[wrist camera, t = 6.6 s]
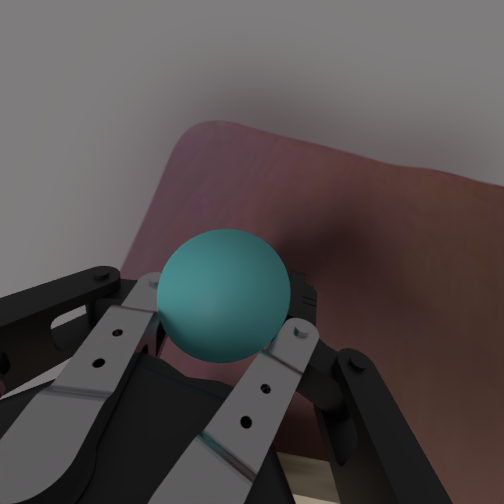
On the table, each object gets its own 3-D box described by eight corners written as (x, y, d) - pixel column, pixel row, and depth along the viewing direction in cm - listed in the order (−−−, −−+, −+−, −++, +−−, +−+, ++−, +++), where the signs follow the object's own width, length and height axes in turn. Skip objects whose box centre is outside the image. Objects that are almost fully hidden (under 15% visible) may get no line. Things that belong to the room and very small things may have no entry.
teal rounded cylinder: (277, 292, 18) (296, 236, 8) (270, 354, 16) (283, 374, 7) (220, 284, 18) (174, 222, 8) (209, 344, 17) (140, 350, 7)
